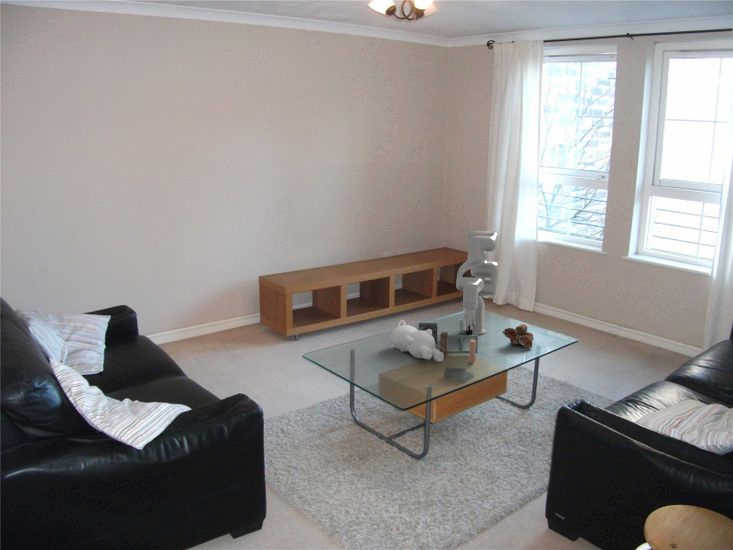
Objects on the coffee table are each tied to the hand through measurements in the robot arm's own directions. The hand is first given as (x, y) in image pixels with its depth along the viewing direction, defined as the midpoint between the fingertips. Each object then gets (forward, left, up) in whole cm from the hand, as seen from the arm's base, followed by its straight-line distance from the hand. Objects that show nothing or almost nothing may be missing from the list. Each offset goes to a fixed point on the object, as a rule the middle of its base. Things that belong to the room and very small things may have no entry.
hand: (468, 337), depth 354 cm
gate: (+5, -3, -8) cm, 10 cm away
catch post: (+11, +5, -10) cm, 15 cm away
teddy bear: (+13, -25, -10) cm, 30 cm away
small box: (-8, -26, -10) cm, 29 cm away
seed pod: (-25, +22, -10) cm, 35 cm away
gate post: (+11, -10, -10) cm, 18 cm away
